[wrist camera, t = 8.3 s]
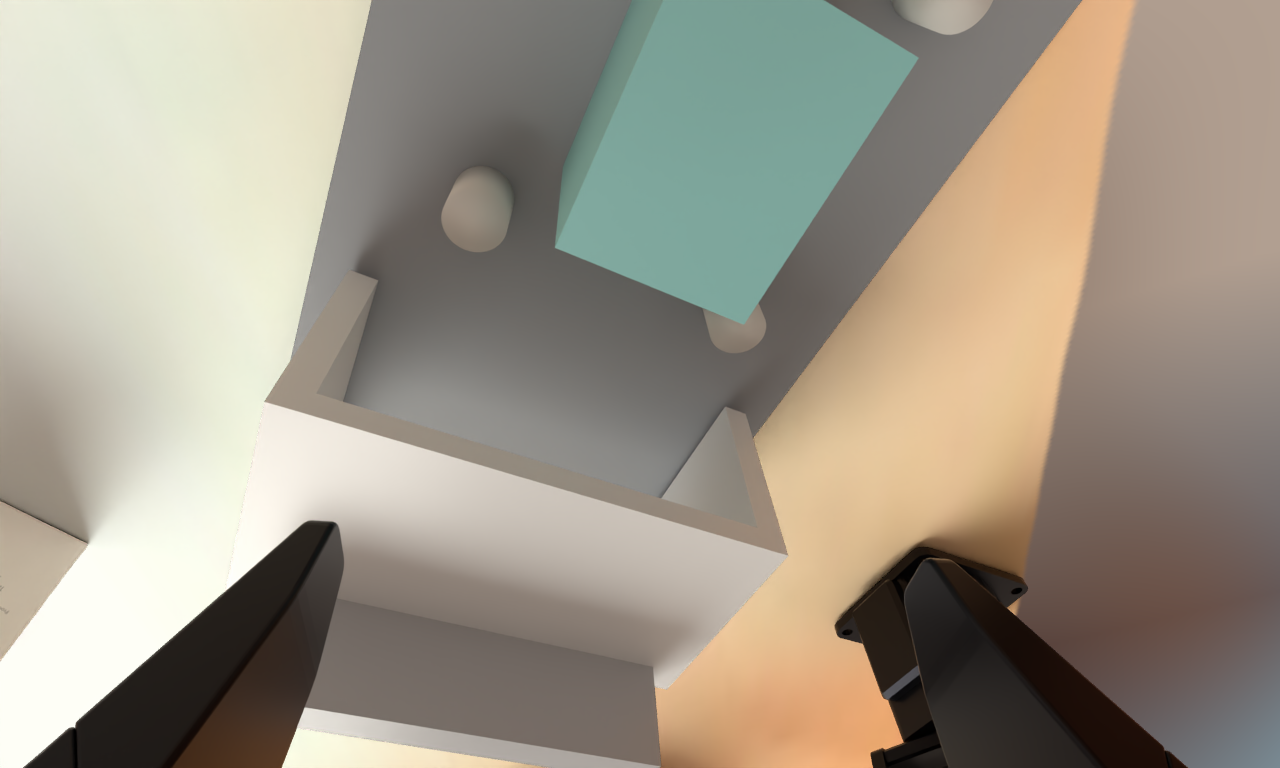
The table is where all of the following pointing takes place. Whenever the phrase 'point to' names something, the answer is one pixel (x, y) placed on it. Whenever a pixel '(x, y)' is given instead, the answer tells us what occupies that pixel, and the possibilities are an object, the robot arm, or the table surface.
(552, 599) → the cover
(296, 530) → the robot arm
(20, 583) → the ink cartridge box
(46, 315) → the table surface
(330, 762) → the table surface
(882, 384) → the table surface
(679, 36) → the block
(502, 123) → the base plate
